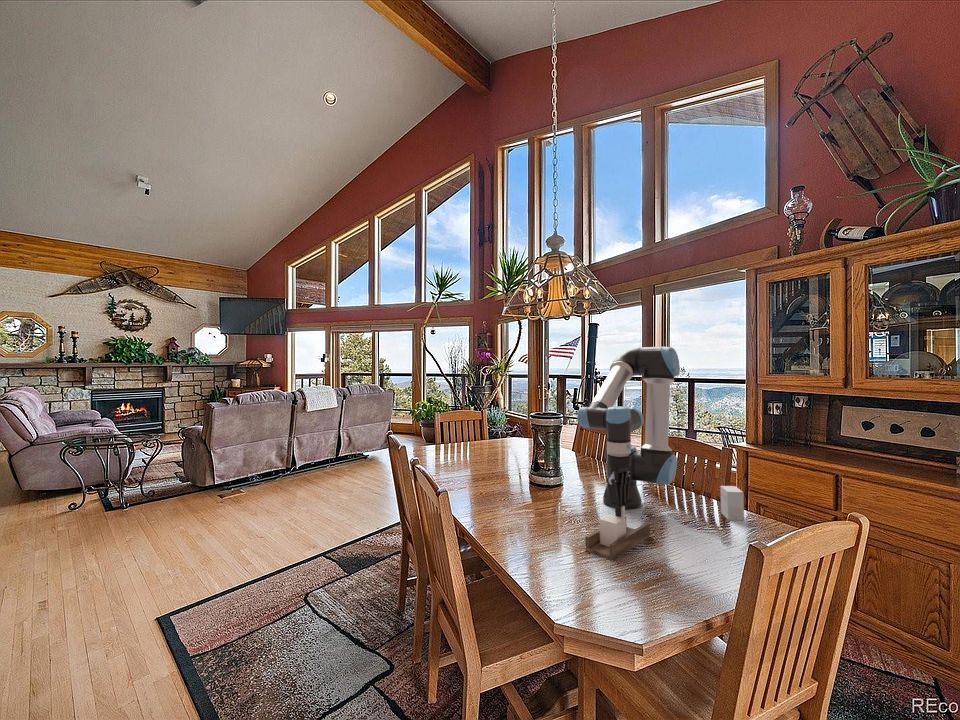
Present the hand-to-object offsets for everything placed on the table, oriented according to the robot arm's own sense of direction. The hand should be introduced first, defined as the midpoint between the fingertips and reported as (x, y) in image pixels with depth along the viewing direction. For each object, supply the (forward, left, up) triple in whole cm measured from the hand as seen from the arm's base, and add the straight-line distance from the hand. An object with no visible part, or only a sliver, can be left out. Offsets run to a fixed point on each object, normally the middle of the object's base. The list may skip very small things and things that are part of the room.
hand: (620, 525), depth 148 cm
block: (0, -5, -5) cm, 7 cm away
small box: (+19, +48, -6) cm, 52 cm away
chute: (0, -1, -6) cm, 6 cm away
